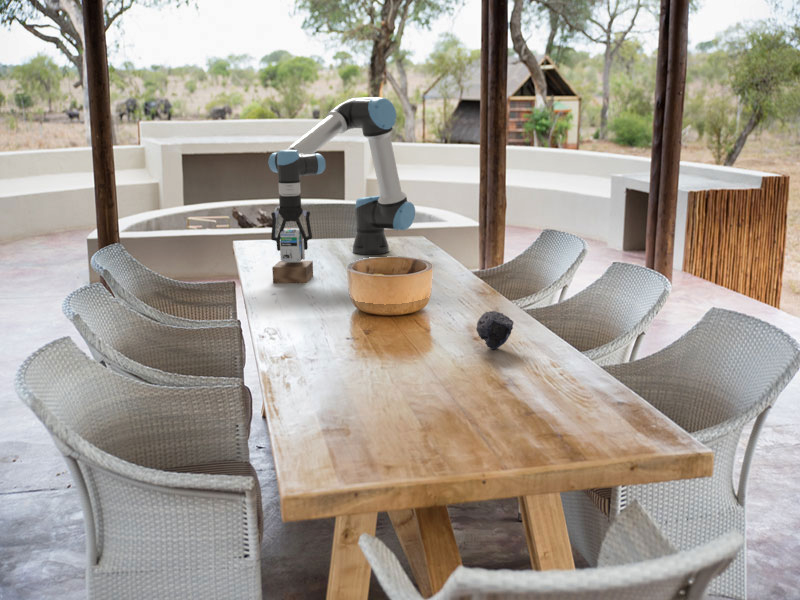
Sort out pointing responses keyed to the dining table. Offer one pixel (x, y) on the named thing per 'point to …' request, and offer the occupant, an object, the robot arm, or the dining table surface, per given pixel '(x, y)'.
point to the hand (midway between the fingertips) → (292, 259)
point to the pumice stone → (494, 328)
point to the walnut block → (292, 272)
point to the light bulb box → (291, 245)
